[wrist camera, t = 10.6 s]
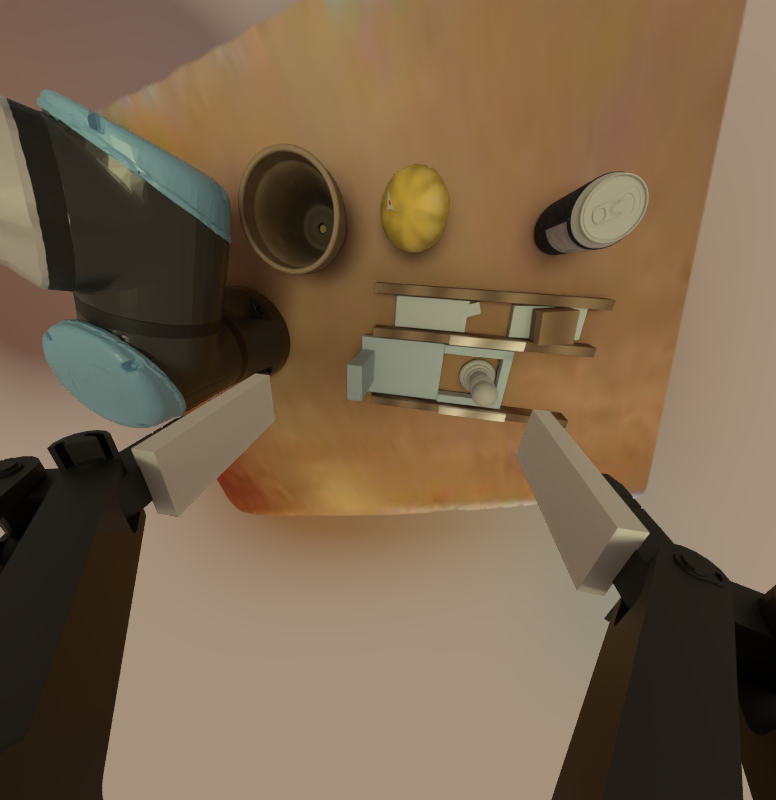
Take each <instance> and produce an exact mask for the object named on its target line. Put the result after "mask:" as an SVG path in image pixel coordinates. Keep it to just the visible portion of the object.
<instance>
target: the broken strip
mask: <svg viewBox="0 0 776 800" xmlns="http://www.w3.org/2000/svg"><path fill="white" fill-rule="evenodd" d="M548 307H560V306H545V305H512V310H511V315H510V321H509V326H508V331H507V336H508V337H515V338H529V333H530V326H531V318H532V310H533V308H548ZM570 308H573V307H570ZM573 309H577V310H580V313H579V318H578V323H577V328H576V333H575V338H574V340H579V337H580V333H581V330H582V327H583V323H584V320H585V317H586V313H587V310H588V309H586V308H573ZM478 314H481V311H480V304H479V301H477V302H473V303H470V301H469V300H458V299H445V298H432V297H419V296H406V295H397V304H396V319H395V326H401V327H412V328H423V329H434V330H445V331H456V332H464V331H465V325H466V320H467V317H470V316H474V315H478Z"/></svg>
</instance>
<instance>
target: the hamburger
mask: <svg viewBox="0 0 776 800" xmlns="http://www.w3.org/2000/svg"><path fill="white" fill-rule="evenodd" d="M448 213H449V195H448V193H447V189H446V187H445V184H444V182H443V179H442V177H441V176H439V174H438V173H437V171H436V170H435V169H433V168H429V167H428V166H426V165H419V164H413V165H410V166H407V167H404V168H403V169H401V170H400V171H398V172H397V173H396V174H394V176H393V177H392V178H391V180H390V181H389V183H388V185H387V187H386V189H385V191H384V194H383V198H382V203H381V221H382V225H383V229H384V231H385V233H386V236H387V237H388V239H389V240H390V241H391V242H392V244H393V245H394V246H396V247H397V248H399V249H400V250H402V251H406V252H410V253H414V252H417V253H419V252H422V251H424V250H426V249H429V248H431V246H433V245H434V244H435V243H436V242H437V241H438V240H439V239H440V238H441V235H442V233H443V231H444V227H445V224H446V221H447V217H448Z"/></svg>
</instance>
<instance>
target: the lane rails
mask: <svg viewBox="0 0 776 800" xmlns="http://www.w3.org/2000/svg"><path fill="white" fill-rule="evenodd" d="M374 292H376V293H389V294H402V295H415V296H428V297H442V298H455V299H468V300H481V301H494V302H507V303H520V304H534V305H547V306H560V307H573V308H586V309H599V310H612V308H613V306H614V303H615V301H616V300H612V299H606V298H593V297H579V296H565V295H551V294H537V293H523V292H509V291H495V290H481V289H467V288H453V287H439V286H425V285H411V284H397V283H383V282H377V283H375V287H374ZM373 336H377V337H387V338H398V339H408V340H418V341H429V342H439V343H449V345H458V346H469V347H479V348H489V349H500V350H510V351H520V352H524V351H533V352H543V353H553V354H564V355H574V356H585V357H594V354H595V351H596V349H597V348H595V347H593V346H591V345H589V344H583V343H573V344H567V345H539V346H538V345H537V344H535V343H534V342H533V341H531V340H530V339H528V338H515V337H506V336H495V335H484V334H473V333H462V332H450V331H439V330H428V329H417V328H406V327H395V326H384V325H376V326H375V327H374V328H373ZM371 403H373V404H381V405H389V406H397V407H405V408H412V409H420V410H428V411H436V412H438V414H445V415H453V416H460V417H468V418H476V419H484V420H492V421H500V422H504V421H505V420H507V421H515V422H522V423H528V421H529V418H530V416H531V413H532V410H530V409H522V408H514V407H506V406H500V409H495V408H487V407H479V406H471V405H462V404H454V403H446V402H438V401H437V400H435V399H427V398H418V397H410V396H402V395H394V394H386V393H377V392H373V393H372V395H371ZM551 413H552V415H553V416H554V417H555V418H556V420H557V421H558V422H559V423H560V424H561V426H562V427H563V428H565V427H566V425H567V422H568V420H567V419H566V418H565V417H564V416H563V415H562V413H555V412H551Z"/></svg>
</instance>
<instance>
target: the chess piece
mask: <svg viewBox="0 0 776 800" xmlns="http://www.w3.org/2000/svg"><path fill="white" fill-rule="evenodd" d="M459 380H460V383H461V385H462V386H463V387H464V388H465V389H466V390H468V391H470V394H471V397H472V400H473V401H474V403H475V404H477V405H479V406H481V407H489V406H491V405H493V404H494V403H495V402H496V400H497V397H498V391H497V389H496V387H495V385H494V383H493V382H494V380H495V370H494V368H493V366H492V365H491V364H490V363H489V362H487V361H485V360H480V359H477V360H472V361H470V362H468V363H466V364H465V365H464V366H463V367H462V369H461V371H460V374H459Z"/></svg>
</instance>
